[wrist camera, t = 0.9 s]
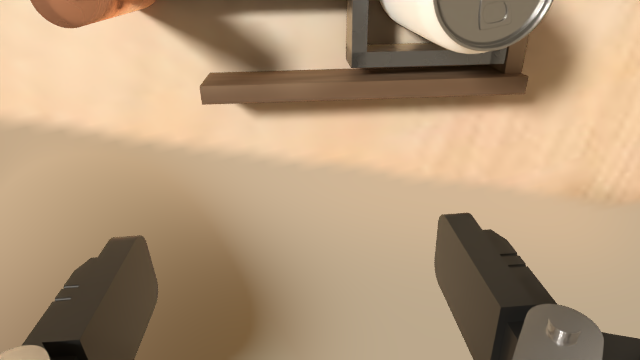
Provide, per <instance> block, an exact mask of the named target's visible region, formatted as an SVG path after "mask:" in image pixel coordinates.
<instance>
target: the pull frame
mask: <svg viewBox="0 0 640 360" xmlns="http://www.w3.org/2000/svg"><path fill="white" fill-rule="evenodd" d="M154 2H155V0H31V3H32V4H33V6H34V7H35V9H36V10H37V11H38V12H39V13H40V14H41V15H42V16H43V17H44V18H45V19H46V20H48V21H49V22H51V23H53V24H55V25H57V26H60V27H64V28H77V27H81V26H84V25H88V24H91V23H95V22H98V21H102V20H105V19H109V18H112V17H116V16H119V15H123V14H126V13H130V12H133V11H137V10H140V9H144V8H147V7H149V6H151V5H152V4H153V3H154ZM368 4H369V0H347V31H346V60H347V62H348V63H349V65H350V67H351V68H373V67H407V66H442V65H476V64H504V62H505V56H506V51H507V47H506V48H503V49H499V50H495V51H488V52H484V53H477V54H465V53H458V52H454V51H451V50H448V49H446V48H444V47H441V46H439V45H437V44H435V43H408V44H370V45H367V34H368Z"/></svg>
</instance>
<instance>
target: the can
mask: <svg viewBox="0 0 640 360" xmlns="http://www.w3.org/2000/svg"><path fill="white" fill-rule="evenodd" d="M552 2H553V0H380V3H381V5H382V7H383V9H384V10H385V12H386V13H387V14H388V16H389V17H390V18H391V19H393V20H394V21H395V22H397V23H398V24H400V25H401V26H403V27H405V28H407V29H409V30H410V31H412V32H414V33H416V34H418V35H420V36H422V37H424V38H426V39H428V40H429V41H431V42H433V43H435V44H437V45H439V46H441V47H444V48H446V49H448V50H451V51H454V52H458V53H465V54H477V53H484V52H488V51H495V50H499V49H503V48H506V47H508V46H510V45H513V44H515V43H516V42H518V41H520V40H521V39H523V38H524V37H525V36H527V35H528V34H529V33H530V32H531V31H532V30H533V29H534V28H535V27H536V26H537V25H538V24H539V23H540V22H541V20H542V19H543V18H544V16H545V15H546V13H547V11H548V10H549V8H550V6H551V4H552Z"/></svg>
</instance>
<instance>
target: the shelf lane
mask: <svg viewBox="0 0 640 360" xmlns="http://www.w3.org/2000/svg"><path fill="white" fill-rule="evenodd" d="M528 37H529V34H528V35H527V36H525V37H524V38H523V39H521V40H520V41H518V42H516V43H515V44H513V45H510V46H508V47H507V51H506V56H505V62H504V64H487V65H465V66H430V67H396V68H362V69H327V70H293V71H258V72H224V73H210V74H209V75H208V76H207V77H206V79H205V80H204V81H203V83H202V84H201V85H200V93H201V100H202V105H203V104H233V103H264V102H295V101H325V100H356V99H386V98H417V97H448V96H478V95H509V94H525V91H526V86H527V81H528V76H526V75H524V74H522V73H521V72H522V67H523V62H524V57H525V52H526V47H527V42H528Z"/></svg>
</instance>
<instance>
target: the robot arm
mask: <svg viewBox="0 0 640 360" xmlns="http://www.w3.org/2000/svg"><path fill="white" fill-rule="evenodd" d="M435 273H436V278H437V281H438V284H439V286H440V288H441V290H442V292H443V295H444V297H445V299H446V301H447V303H448V305H449V307H450V310H451V312H452V314H453V316H454V318H455V321H456V323H457V325H458V327H459V329H460V331H461V334H462V336H463V338H464V340H465V342H466V344H467V347H468V349H469V351H470V353H471V355H472V357H473V359H474V360H640V339H638V338H632V337H626V336H619V335H613V334H608V333H603V332H601V331H600V329H599V328H598V326H597V325H596V324H595V323H594V322H593V321H592V320H591V319H589V318H588V317H587V316H585V315H584V314H582V313H580V312H578V311H576V310H574V309H572V308H569V307H566V306H562V305H557V303H556V302H555V301H554V299H553V298H552V297H551V296H550V295H549V293H548V292H547V291H546V289H545V288H544V287H543V285H542V284H541V283H540V282H539V280H538V279H537V278H536V277H535V275H534V274H533V273H532V271H531V270H530V269H529V268H528V267H526V265H525V263H524V261H523V260H522V259H521V257H520V256H517V252H516V251H515V250H514V249H513V247H512V246H511V245H510V243H509V242H508V241H507V240H506V239H505V238H503V237H501V236H500V235H498V234H497V233H495V232H494V231H492V230H482V229H481V228H480V226H479V225H478V223H477V222H476V221H475V219H474V218H473V216H472V215H471V214H469V213H460V214H459V213H458V214H446V215H441V216H440V217H439V221H438V231H437V241H436V252H435ZM157 297H158V284H157V279H156V275H155V272H154V268H153V265H152V261H151V257H150V254H149V250H148V247H147V243H146V240H145V239H144V237H143V236H127V237H113V238H111V239H110V240H109V241H108V243H107V244H106V246H105V247H104V249H103V250H102V252H101V253H100V255H99V256H98V257H96V258H90V259H89V260H88V261H87V262H85V263H84V264H83V265H81V266H80V267H79V268H78V269H76V270H75V271H74V272H73V273H72V275H71V276H70V278H69V279H68V281H67V282H66V283H65V285H64V289H61V291H60V292H59V293H58V295H57V296H56V298H55V302H52V303H51V305H50V306H49V308H48V309H47V311H46V312H45V313H44V315H43V316H42V317H41V319H40V320H39V322H38V323H37V325H36V326H35V327H34V329H33V330H32V332H31V333H30V334H29V336H28V337H27V339H26V340H25V342H24V343H23V344H22V346H19V347H16V348H12V349H9V350H7V351H5V352H2V353H0V360H134V358H135V356H136V353H137V351H138V348H139V346H140V343H141V341H142V338H143V335H144V333H145V331H146V328H147V326H148V323H149V320H150V318H151V315H152V313H153V310H154V308H155V305H156V302H157Z"/></svg>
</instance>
